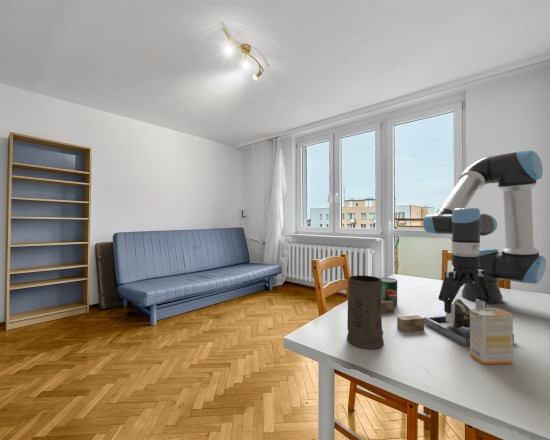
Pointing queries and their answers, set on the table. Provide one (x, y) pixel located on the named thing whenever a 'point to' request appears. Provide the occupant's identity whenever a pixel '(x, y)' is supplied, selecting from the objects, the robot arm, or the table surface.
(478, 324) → the supplement box
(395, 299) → the canned tomato
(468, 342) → the dish
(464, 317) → the fossil
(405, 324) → the cradle
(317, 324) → the table surface
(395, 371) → the table surface
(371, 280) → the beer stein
